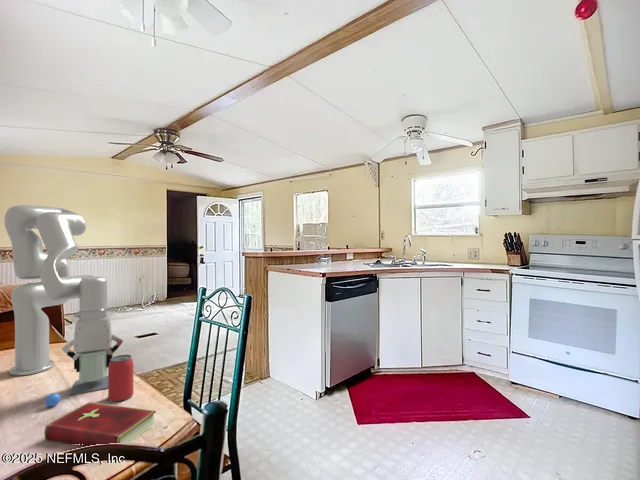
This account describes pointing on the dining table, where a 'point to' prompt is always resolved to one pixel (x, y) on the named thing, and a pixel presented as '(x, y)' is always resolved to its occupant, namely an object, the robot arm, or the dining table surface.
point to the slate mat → (89, 386)
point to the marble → (52, 399)
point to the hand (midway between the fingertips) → (93, 368)
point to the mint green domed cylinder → (93, 365)
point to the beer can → (120, 378)
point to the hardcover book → (100, 425)
